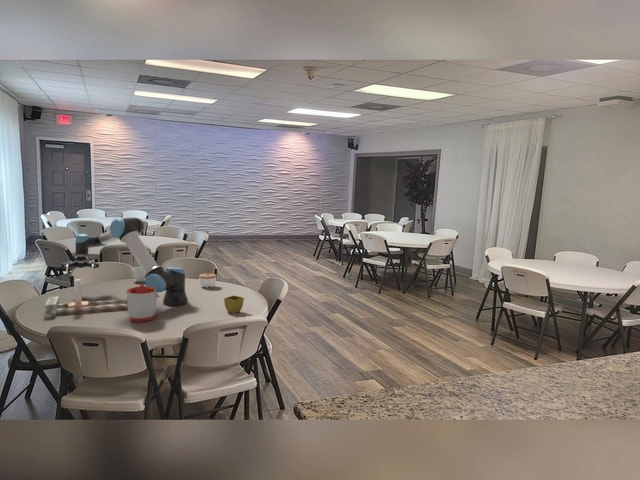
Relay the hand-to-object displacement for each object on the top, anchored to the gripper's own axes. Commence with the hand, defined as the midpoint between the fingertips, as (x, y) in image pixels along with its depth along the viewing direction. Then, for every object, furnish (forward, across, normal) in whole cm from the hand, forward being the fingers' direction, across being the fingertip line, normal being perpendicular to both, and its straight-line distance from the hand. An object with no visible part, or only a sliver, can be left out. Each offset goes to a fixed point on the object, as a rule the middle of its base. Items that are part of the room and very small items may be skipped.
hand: (79, 268), depth 259 cm
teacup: (-57, -40, -24) cm, 74 cm away
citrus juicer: (+39, -33, -20) cm, 55 cm away
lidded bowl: (-25, -83, -21) cm, 89 cm away
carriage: (+11, 0, -21) cm, 23 cm away
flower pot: (+43, -84, -18) cm, 96 cm away
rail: (+11, -8, -22) cm, 26 cm away
